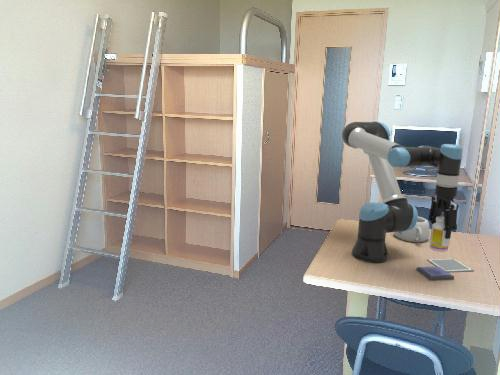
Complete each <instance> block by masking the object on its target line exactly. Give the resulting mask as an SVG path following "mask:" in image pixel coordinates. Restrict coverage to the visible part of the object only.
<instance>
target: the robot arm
mask: <svg viewBox="0 0 500 375" xmlns="http://www.w3.org/2000/svg"><path fill="white" fill-rule="evenodd" d="M341 138H342V140H343V143H344V144H345V145H346V146H348V147H350V148H352V149H355V150H356V149H357V150H358V149H361V150H363V153H364V154H366V155H367V157H368V158H369V162H370V166H371V168H372V171H373V175H374V178H375V180H376V183H377V187H378V190H379V194H380V197H381V200H382V202H368V203H365V204H363V205H362V206H361V207H360V210H359V214H358V218H359V219H358V228H357V238H356V240H355V243H354V245H353V247H352V250H351V255H352V257H353V258H354V259H356V260H359V261H361V262H365V263H373V264H374V263H377V264H379V263H380V264H381V263H384V262H386V261H387V260H388V257H389V253H388V249H387V244H386V236H387V234H389V233H394V232H399V231H401V232H403V231H407V230H411V229H412V228H414V227H415V225H416V222H417V220H418V216H419V215H418V210H417V208H416V206H414V204H412V203H409V202H408V198H407V197H405V196H403V194H402V191H401V189H400V185H399V184H398V183H399V182H398V180H397V177H396V174H395V170H394V169H393V168H406V167H407V168H409V167H411V168H412V167H433V168H436V169H437V174H436V175H437V176H436V179H435V180H436V182H435V183H436V185H435V190H434V194H435V195H436V196H431V205H430V209H429V214H428V221H430V223H431V226H430V233H431V232H432V225H433V224H434V223H436V217H438V216H441V217H442V214H443V217H444V223H445V229H443V235H442V243H441V246H448V247H449V246H450V239H451V236H452V231H456V229H457V220H458V219H457V218H458V210H459V208H460V206H459V204H455V203H454V198H456V197H457V193H458V187H457V186H458V185H459V176H460V170H461V166H462V165H461V164H462V159H463V147H462V145H459V144H451V143H444V144H441V146H440V148H439V147H434V146H430V145H419V146H404V145H401V144H399V143H396V142H393V141H391V130H390V128H389V127H388V125H387V124H386V123H384V122H381V121H353V122H350V123H348V124H347V125H346V126H344V128H343V130H342V133H341ZM429 237H430V238H429V240H431V235H429Z"/></svg>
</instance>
